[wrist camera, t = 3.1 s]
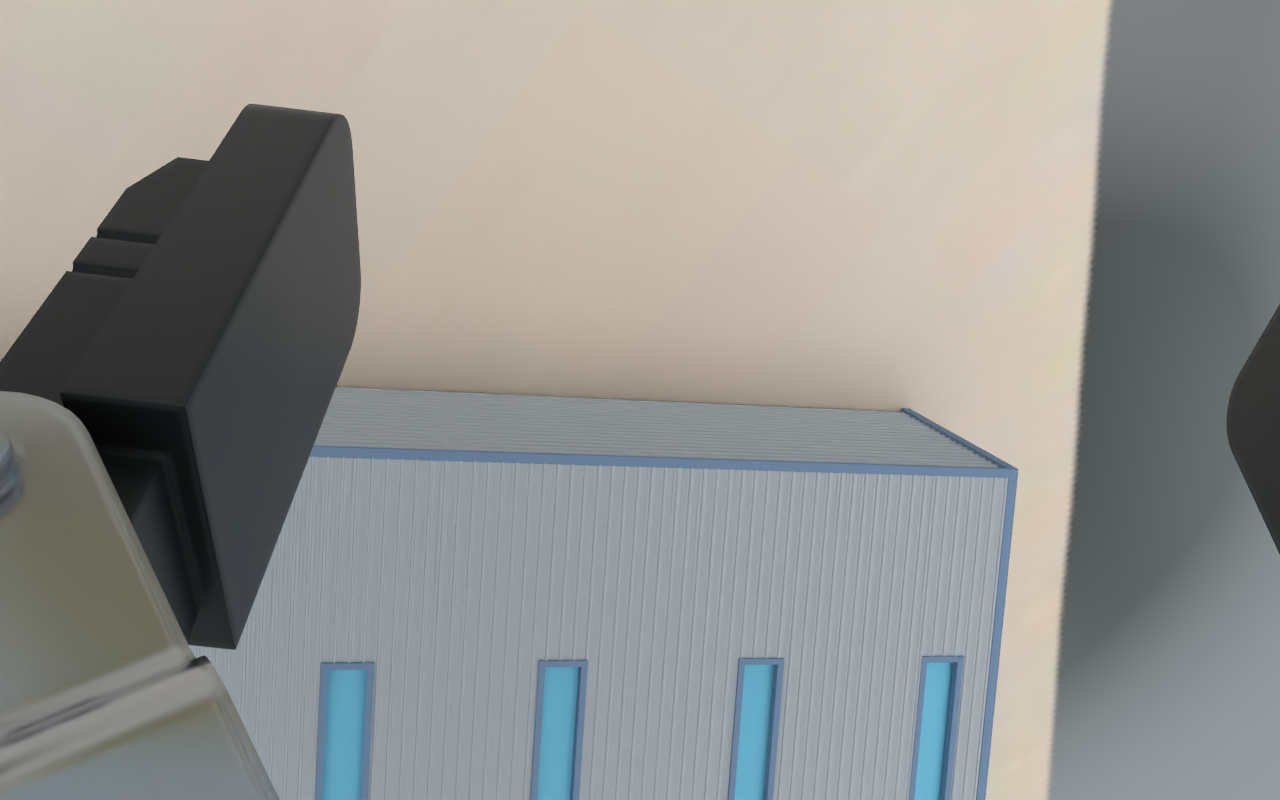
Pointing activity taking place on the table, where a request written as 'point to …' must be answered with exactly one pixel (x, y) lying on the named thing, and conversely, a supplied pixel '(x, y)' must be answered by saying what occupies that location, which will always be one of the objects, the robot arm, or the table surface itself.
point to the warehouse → (628, 604)
